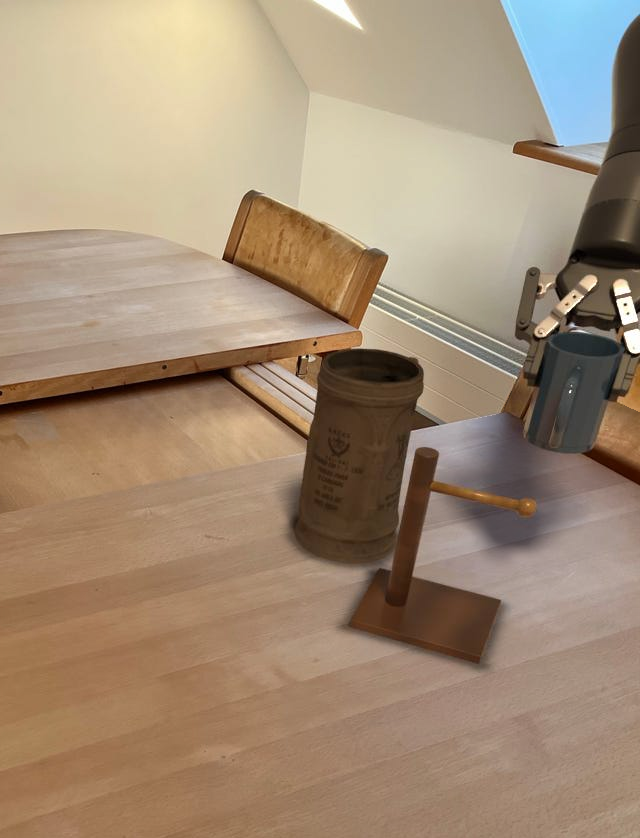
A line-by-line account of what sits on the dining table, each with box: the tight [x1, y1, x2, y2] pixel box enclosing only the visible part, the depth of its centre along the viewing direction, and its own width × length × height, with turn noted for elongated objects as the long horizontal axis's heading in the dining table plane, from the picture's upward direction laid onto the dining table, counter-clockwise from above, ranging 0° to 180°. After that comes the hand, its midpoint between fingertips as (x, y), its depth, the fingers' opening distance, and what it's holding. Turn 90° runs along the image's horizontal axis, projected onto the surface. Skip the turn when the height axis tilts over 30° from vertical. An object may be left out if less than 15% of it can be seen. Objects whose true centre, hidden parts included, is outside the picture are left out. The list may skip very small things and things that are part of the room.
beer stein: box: [293, 347, 425, 565], centre depth 99 cm, size 15×11×20 cm
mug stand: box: [348, 446, 537, 665], centre depth 87 cm, size 13×10×17 cm
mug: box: [522, 331, 624, 455], centre depth 87 cm, size 10×6×9 cm, turn 154°
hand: (572, 390), depth 86 cm, fingers closed on mug, 6 cm apart
